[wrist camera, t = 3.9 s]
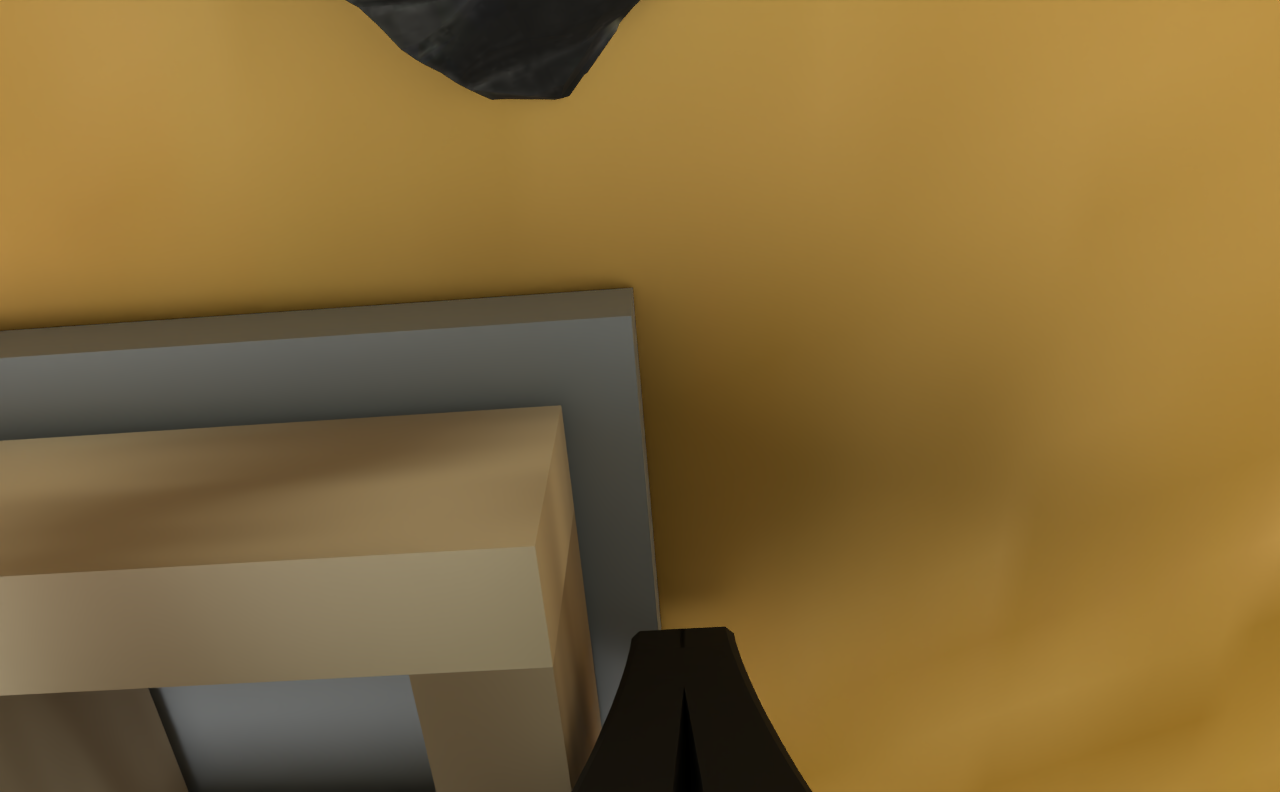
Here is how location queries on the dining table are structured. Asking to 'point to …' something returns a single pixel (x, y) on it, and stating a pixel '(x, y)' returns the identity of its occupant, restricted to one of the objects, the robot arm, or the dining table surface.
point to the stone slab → (503, 40)
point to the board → (360, 388)
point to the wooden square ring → (295, 589)
